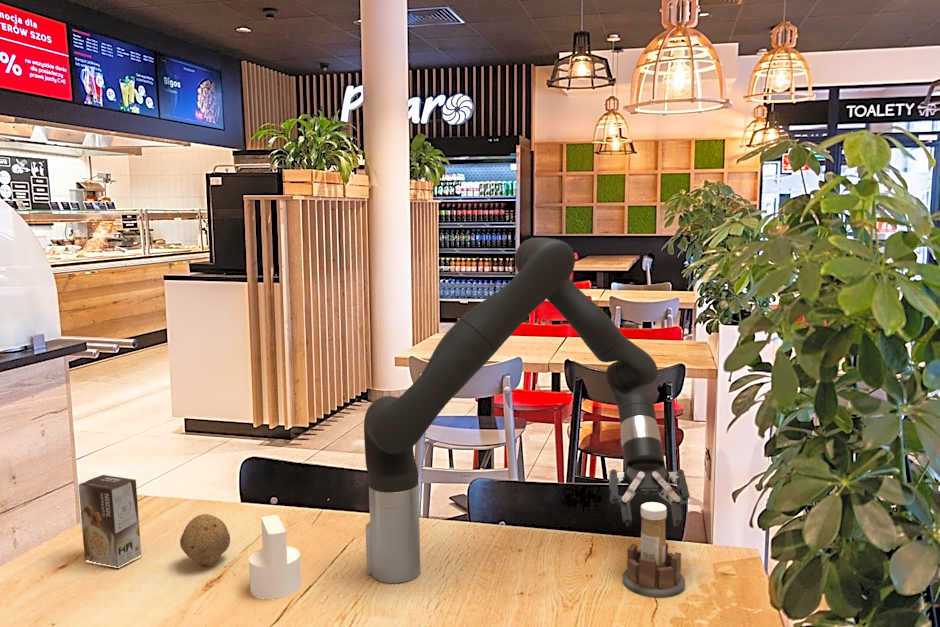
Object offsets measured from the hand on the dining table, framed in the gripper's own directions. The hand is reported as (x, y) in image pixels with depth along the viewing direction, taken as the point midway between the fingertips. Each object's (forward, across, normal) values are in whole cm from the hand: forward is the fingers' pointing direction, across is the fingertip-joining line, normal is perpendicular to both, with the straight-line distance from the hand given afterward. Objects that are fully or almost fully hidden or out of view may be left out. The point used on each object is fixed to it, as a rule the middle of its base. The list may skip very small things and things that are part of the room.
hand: (653, 524), depth 140 cm
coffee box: (+1, -104, +15) cm, 105 cm away
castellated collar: (+8, 0, +7) cm, 11 cm away
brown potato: (+2, -85, +13) cm, 86 cm away
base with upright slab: (+9, -68, +6) cm, 69 cm away
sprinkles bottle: (+7, 0, +7) cm, 10 cm away
